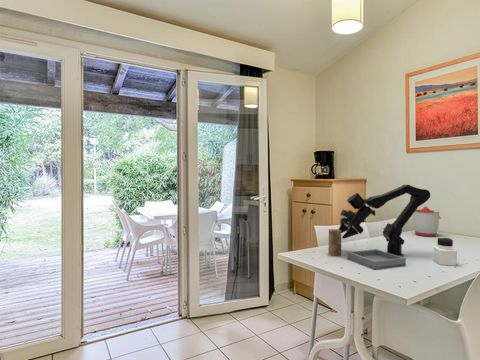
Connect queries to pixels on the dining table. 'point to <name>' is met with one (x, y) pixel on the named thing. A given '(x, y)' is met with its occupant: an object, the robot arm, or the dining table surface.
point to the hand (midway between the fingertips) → (339, 236)
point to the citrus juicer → (426, 222)
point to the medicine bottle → (445, 252)
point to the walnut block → (335, 242)
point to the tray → (376, 259)
